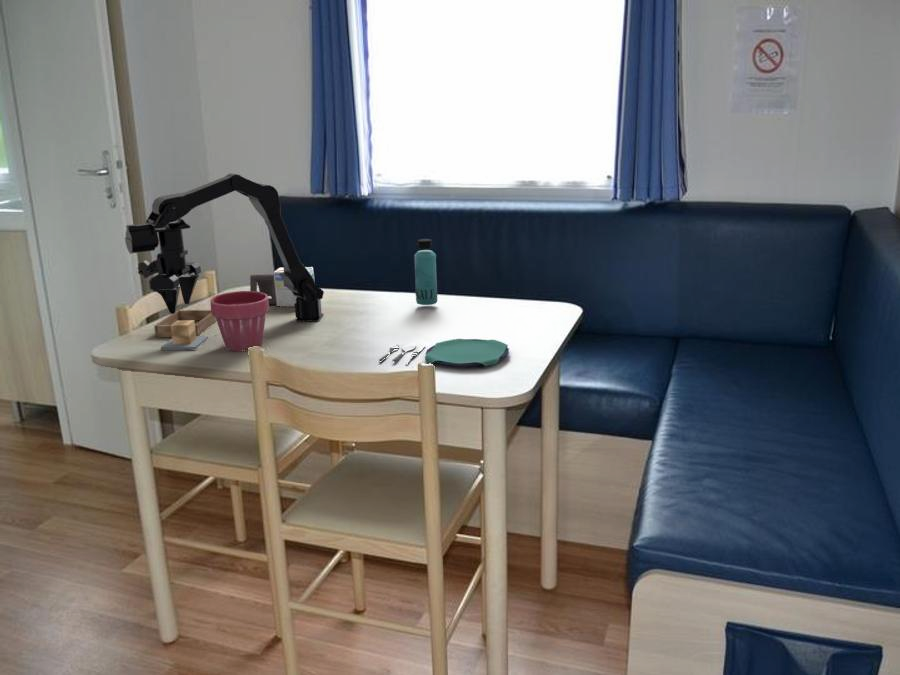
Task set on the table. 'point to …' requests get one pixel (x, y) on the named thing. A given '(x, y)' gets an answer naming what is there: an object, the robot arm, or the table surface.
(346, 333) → the table surface
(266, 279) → the portable electronic device stand
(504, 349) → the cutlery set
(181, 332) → the beech block
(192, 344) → the slate pad
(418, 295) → the beverage bottle
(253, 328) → the plant pot
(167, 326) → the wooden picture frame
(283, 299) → the light bulb box
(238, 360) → the table surface
